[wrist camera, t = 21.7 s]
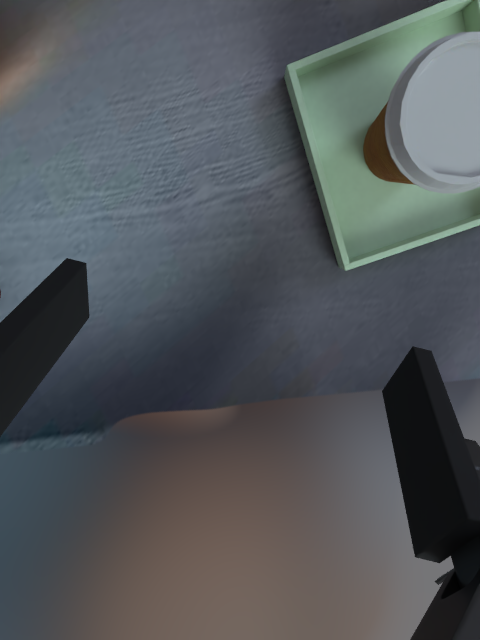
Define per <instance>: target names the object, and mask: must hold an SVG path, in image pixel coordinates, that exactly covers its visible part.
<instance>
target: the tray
mask: <svg viewBox="0 0 480 640" xmlns="http://www.w3.org/2000/svg"><path fill="white" fill-rule="evenodd" d="M461 32H480V0H446V1H443V2H441V3H438V4H436V5H433V6H431V7H428V8H426V9H424V10H421V11H419V12H416V13H414V14H411V15H409V16H406V17H404V18H401V19H399V20H396V21H394V22H392V23H389V24H387V25H384V26H382V27H379V28H377V29H374V30H372V31H369V32H367V33H365V34H362V35H360V36H357V37H355V38H352V39H350V40H347V41H345V42H342V43H340V44H338V45H335V46H333V47H330V48H328V49H325V50H323V51H320V52H318V53H315V54H313V55H310V56H308V57H306V58H303V59H301V60H298V61H296V62H293V63H291V64H288V65H287V67H286V71H285V75H284V79H285V82H286V86H287V89H288V93H289V96H290V99H291V103H292V106H293V110H294V113H295V117H296V120H297V124H298V127H299V131H300V134H301V138H302V141H303V145H304V148H305V151H306V155H307V158H308V162H309V165H310V169H311V172H312V176H313V179H314V183H315V186H316V190H317V193H318V197H319V200H320V203H321V207H322V210H323V214H324V217H325V221H326V224H327V228H328V231H329V235H330V238H331V242H332V245H333V249H334V252H335V256H336V259H337V262H338V266H339V268H341V269H343V270H345V271H347V270H350V269H352V268H355V267H358V266H361V265H364V264H367V263H370V262H373V261H376V260H379V259H382V258H385V257H388V256H391V255H394V254H396V253H399V252H402V251H405V250H408V249H411V248H414V247H417V246H420V245H423V244H426V243H429V242H432V241H435V240H438V239H440V238H443V237H446V236H449V235H452V234H455V233H458V232H461V231H464V230H467V229H470V228H473V227H476V226H479V225H480V187H478V188H475V189H473V190H469V191H466V192H461V193H438V192H433V191H428V190H426V189H424V188H422V187H419V186H417V185H414V184H405V183H396V182H388V181H385V180H382V179H379V178H378V177H377V176H375V175H374V174H373V173H372V172H371V171H370V169H369V168H368V166H367V164H366V162H365V159H364V152H363V145H364V140H365V136H366V134H367V131H368V129H369V128H370V126H371V125H372V123H373V122H374V121H375V119H376V118H377V116H378V115H379V113H380V112H381V110H382V109H383V108H384V106H385V105H386V103H387V102H388V100H389V97H390V94H391V91H392V89H393V87H394V85H395V83H396V81H397V79H398V78H399V76H400V74H401V72H402V71H403V70H404V68H405V67H406V66H407V65H408V63H409V62H410V61H411V60H412V59H413V58H414V57H415V56H416V55H417V54H418V53H419V52H420V51H421V50H422V49H424V48H425V47H427V46H429V45H430V44H432V43H433V42H435V41H437V40H439V39H441V38H443V37H445V36H449V35H453V34H457V33H461Z"/></svg>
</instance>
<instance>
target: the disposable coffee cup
mask: <svg viewBox="0 0 480 640" xmlns="http://www.w3.org/2000/svg"><path fill="white" fill-rule="evenodd" d="M363 152H364V159H365V162H366V164H367V166H368V168H369V169H370V171H371V172H372V173H373V174H374V175H375V176H377V177H378V178H379V179H382V180H385V181H388V182H396V183H405V184H414V185H417V186H419V187H422V188H424V189H426V190H428V191H433V192H438V193H461V192H466V191H469V190H473V189H475V188H478V187H480V32H461V33H457V34H453V35H449V36H445V37H443V38H441V39H439V40H437V41H435V42H433V43H432V44H430V45H429V46H427V47H425V48H424V49H422V50H421V51H420V52H419V53H418V54H417V55H416V56H415V57H414V58H413V59H412V60H411V61H410V62H409V63H408V65H407V66H406V67H405V68H404V70H403V71H402V72H401V74H400V76H399V78H398V79H397V81H396V83H395V85H394V87H393V89H392V91H391V94H390V97H389V100H388V102H387V103H386V105H385V106H384V108H383V109H382V110H381V112H380V113H379V115H378V116H377V118H376V119H375V121H374V122H373V123H372V125H371V126H370V128H369V129H368V131H367V134H366V136H365V140H364V145H363Z"/></svg>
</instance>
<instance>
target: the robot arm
mask: <svg viewBox="0 0 480 640" xmlns="http://www.w3.org/2000/svg"><path fill="white" fill-rule="evenodd" d="M88 318H89V303H88V286H87V269H86V263H84V262H80V261H76V260H72V259H68V258H67V259H66V260H64V261H63V262H62V263H61V264H60V265H59V266H58V267H57V268H56V269H55V270H54V271H53V272H52V273H51V274H50V275H49V276H48V277H47V278H46V279H45V280H44V281H43V282H42V283H41V284H40V285H39V286H38V287H37V288H36V289H35V290H34V291H33V292H32V293H31V294H29V295H28V296H27V297H26V298H25V299H24V300H23V301H22V302H21V303H20V304H19V305H18V306H17V307H16V308H15V309H14V310H13V311H12V312H11V313H10V314H9V315H8V316H7V317H6V318H5V319H4V320H3V321H2V322H1V323H0V436H1V435H2V434H3V432H4V431H5V430H6V428H7V427H8V426H9V424H10V423H11V422H12V420H13V419H14V418H15V416H16V415H17V414H18V412H19V411H20V410H21V408H22V407H23V405H24V404H25V403H26V401H27V400H28V399H29V397H30V396H31V395H32V393H33V392H34V391H35V389H36V388H37V387H38V385H39V384H40V383H41V381H42V380H43V379H44V377H45V376H46V375H47V373H48V372H49V371H50V369H51V368H52V367H53V365H54V364H55V363H56V361H57V360H58V359H59V357H60V356H61V355H62V353H63V352H64V351H65V349H66V348H67V347H68V345H69V344H70V343H71V341H72V340H73V338H74V337H75V336H76V334H77V333H78V332H79V330H80V329H81V328H82V326H83V325H84V324H85V322H86V321H87V320H88ZM382 393H383V398H384V403H385V408H386V413H387V418H388V423H389V428H390V433H391V438H392V443H393V448H394V453H395V458H396V463H397V468H398V473H399V478H400V483H401V488H402V493H403V498H404V503H405V508H406V514H407V518H408V523H409V528H410V534H411V538H412V544H413V549H414V554H415V557H417V558H421V559H425V560H429V561H433V562H437V563H440V562H442V561H443V560H445V559H446V558H448V557H449V556H451V558H452V562H453V565H454V569H452V570H450V571H449V572H447V573H446V574H444V575H443V576H441V577H440V578H438V579H437V580H436V581H435V582H436V583H437V584H438V585H439V584H440V583H442V582H443V583H442V585H441V587H440V589H439V591H438V592H437V594H436V596H435V597H434V599H433V601H432V603H431V604H430V606H429V608H428V610H427V611H426V613H425V615H424V617H423V619H422V620H421V622H420V624H419V626H418V627H417V629H416V631H415V632H414V634H413V636H412V638H411V640H480V446H479V445H478V444H477V443H476V441H472V440H468V439H464V437H463V434H462V431H461V429H460V426H459V424H458V421H457V418H456V415H455V413H454V410H453V407H452V405H451V402H450V399H449V397H448V394H447V391H446V389H445V386H444V383H443V381H442V378H441V375H440V373H439V370H438V367H437V365H436V362H435V359H434V356H433V354H432V351H429V350H425V349H421V348H417V347H414V346H413V347H412V348H411V350H410V351H409V352H408V354H407V355H406V357H405V358H404V360H403V361H402V363H401V364H400V366H399V367H398V369H397V370H396V372H395V373H394V375H393V376H392V377H391V379H390V380H389V382H388V383H387V385H386V386H385V388H384V389H383V391H382Z"/></svg>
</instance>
